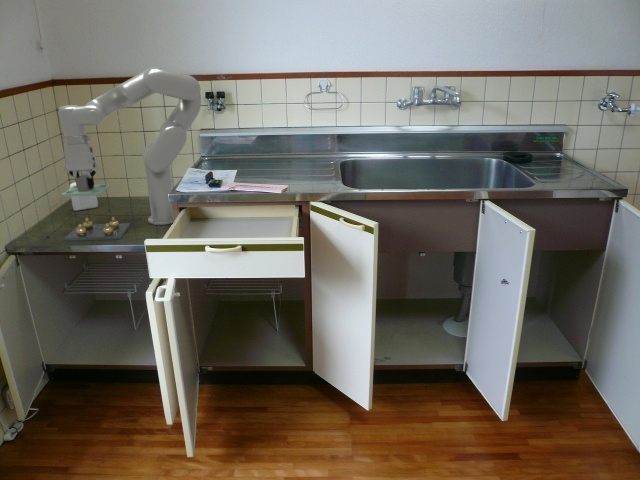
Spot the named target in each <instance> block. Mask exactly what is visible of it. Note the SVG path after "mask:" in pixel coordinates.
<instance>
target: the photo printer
mask: <svg viewBox="0 0 640 480" xmlns="http://www.w3.org/2000/svg"><path fill="white" fill-rule="evenodd" d="M73 186H77V185H76V181H74V182H72V183H70V184H69V189H70V188H71V187H73ZM97 197H98V196H70V198H71V199H70V200H71V205H72V209H73V211H74V212H76V211H82V210H88V209H94V208H99V202H98V198H97Z"/></svg>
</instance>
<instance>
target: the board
mask: <svg viewBox="0 0 640 480" xmlns="http://www.w3.org/2000/svg"><path fill="white" fill-rule="evenodd" d="M87 179H88V175H87V173H86V174H81V175H79V177H78V178H76V181H75V182H77V186H73V187H71V188H70V187H69V189H67V190H66V191H64V192H63V193H61V196H62V197H71V196H97V197H98V196H101V195H102V194H103V193H105V192H106V191H107V190H109V188H111V184H94V187H93V188H91V189H90V188H89V186H88V181H87Z"/></svg>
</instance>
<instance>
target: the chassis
mask: <svg viewBox="0 0 640 480" xmlns="http://www.w3.org/2000/svg"><path fill="white" fill-rule="evenodd" d="M130 227H131V223H130V222H129V223H125V222H124V223H119V221H118V220H116V219H115V216H111V221H109V222H108V223H93V221H92V220H91V221H90V219H89V218H88V217H85V221H84V222H83V224H81V223H79V224H78V225H77V226H76V227H74V229H73V230H71V231H70V232H69V233H68V234H67V235H66V236H65V237H64V240H65V242H71V241H73V242H75V241H99V240H100V241H106V240H108V241H109V240H110V241H111V240H121V239H122V237H123V236H124V235H125V234H126V232H127V231H128V230H129V228H130Z"/></svg>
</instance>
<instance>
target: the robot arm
mask: <svg viewBox="0 0 640 480" xmlns="http://www.w3.org/2000/svg"><path fill="white" fill-rule="evenodd" d="M201 88H202V87H201V85H200V82H199V81H198V80H197V79H196V78H195V77H193V76H192V75H189V74H178V73H175V72H171V71H168V70H165V69H162V68H161V67H159V66H151V67H148V68H147V69H145V70H143V71H142V72H140V73H138V74H136V75H135V76H133V77H131V78H129V79H127V80H126V81H123V82H122V83H120V84H118V85H117V86H115V87H114V88H112V89H110V90H108V91H107V92H105V93H102V94H100V95H99V96H97V97H96V98H94V99H92V100H90V101H89V102H87V103H86V104H85V105H82V106H79V105H78V104H68V105H62V106H60V107H59V109H58V115H59V118H60V123H61V129H62V133H63V136H64V142H65V143H64V146H63V149H64V150H63V152H64V160H65V161H64V162H65V166H64V168H63V171H64V172H65V173H67V174H69V175H70V176H71V177H72V178H73V179H74V180H75V181H74V182H76V178H78V177H79V176H80V171H85V172H86V174H87V175H88V179H87V181H88V186H89V188H90V189H91V188H93V187H94V185H95V180H94V176H95V175H96V174H97V173H98V172H99V171H101V169H102V167H100V165H99V164H98V161H97V157H96V153H95V151H94V148H93V146H92V143H91V142H90V141H91V139H92V137H91V136H90V135H89V136H88V134H87V132H86V131H87V130H86V126H99V125H101V124H102V123H103V122H104V120H105V118H107V117H108V116H110V115H112V114H113V113H115V112H118V111H119V110H122V109H124V108H128V107H129V108H130V107H132V106H136V105H137V104H139V103H140V102H142V101H144V100H145V99H148V98H149V97H151V96H153V95H154V94H159V95H162V96H165V97H170V98H173V99H174V98H175V99H178V101H177V104H176V105H175V107H174V108H173V110H172V111H171V113H170V115H169V116H168V117H167V118H166V120H165V122H163V123H162V124H161V126H160V128H159V134H158V136H157V138H156V139H155V141H153V142H149V143H148V144H146V146H144V149H143V150H142V159H143V166H144V172H145V178H146V179H145V180H146V185H147V193H148V200H149V207H150V216H148V218H147V220H148V221H147V222H148V223H149V224H151V225H155V226H156V225H157V226H160V225H161V226H164V225H165V226H166V225H171V224H174V223H175V222H174V215H173V209H172V204H171V203H169V201H168V194H169V193H170V191H171V190H172V189H173V180H172V173H171V172H172V171H171V164H173V162H174V161H175V159H176V158H177V157H178V155H180V153H181V151H182V150H183V148H184V147H185V145H186V143H187V138H188V136H187V132H188V130H189V129H190V128H191V127H192V124H193V123H194V122H195V120H196V119H197V117H198V115H199V113H200V110H201V107H202V95H201ZM76 185H77V182H76ZM173 190H174V189H173ZM173 222H174V223H173Z"/></svg>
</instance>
